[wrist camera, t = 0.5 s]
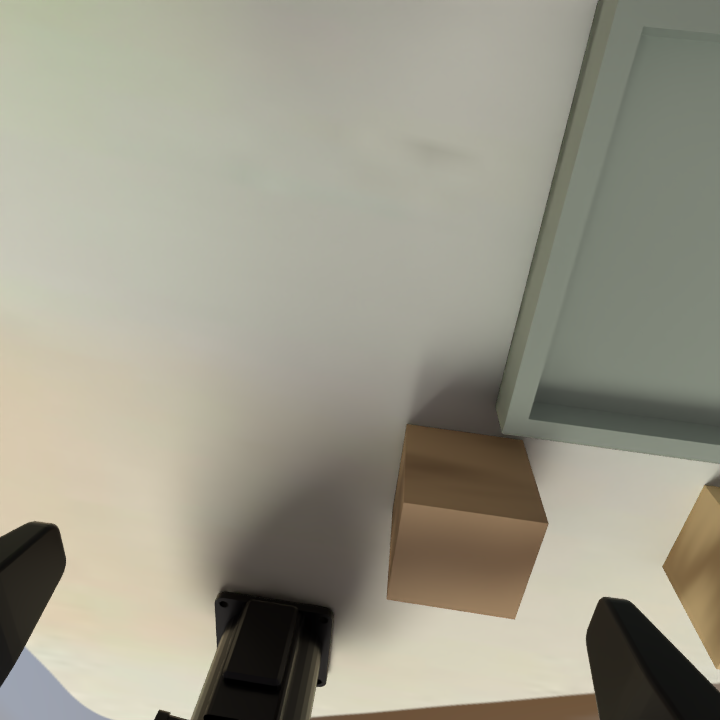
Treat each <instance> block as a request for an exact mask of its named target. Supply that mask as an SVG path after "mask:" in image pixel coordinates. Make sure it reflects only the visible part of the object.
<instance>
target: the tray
mask: <svg viewBox="0 0 720 720" xmlns="http://www.w3.org/2000/svg"><path fill="white" fill-rule="evenodd" d="M495 407H496V411H497V415H498V419H499V423H500V427H501V431H502V434H507V435H514V436H521V437H528V438H536V439H543V440H550V441H557V442H565V443H572V444H579V445H586V446H594V447H601V448H608V449H615V450H622V451H630V452H637V453H644V454H651V455H659V456H666V457H673V458H680V459H687V460H695V461H702V462H709V463H716V464H720V0H599V1H598V3H597V7H596V11H595V15H594V19H593V23H592V27H591V31H590V35H589V39H588V43H587V47H586V51H585V55H584V59H583V62H582V66H581V70H580V74H579V78H578V82H577V86H576V90H575V94H574V98H573V102H572V106H571V110H570V114H569V118H568V122H567V126H566V130H565V133H564V137H563V141H562V145H561V149H560V153H559V157H558V161H557V165H556V169H555V173H554V177H553V181H552V185H551V189H550V193H549V197H548V200H547V204H546V208H545V212H544V216H543V220H542V224H541V228H540V232H539V236H538V240H537V244H536V248H535V252H534V256H533V260H532V264H531V268H530V271H529V275H528V279H527V283H526V287H525V291H524V295H523V299H522V303H521V307H520V311H519V315H518V319H517V323H516V327H515V331H514V335H513V339H512V342H511V346H510V350H509V354H508V358H507V362H506V366H505V370H504V374H503V378H502V382H501V386H500V390H499V394H498V398H497V402H496V406H495Z"/></svg>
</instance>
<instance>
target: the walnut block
mask: <svg viewBox="0 0 720 720" xmlns="http://www.w3.org/2000/svg"><path fill="white" fill-rule="evenodd" d="M547 526H548V521H547V517H546V514H545V511H544V508H543V504H542V501H541V498H540V495H539V491H538V488H537V485H536V482H535V478H534V475H533V472H532V469H531V465H530V462H529V459H528V456H527V452H526V449H525V446H524V443H523V440H518V439H511V438H504V437H497V436H489V435H482V434H475V433H468V432H461V431H453V430H446V429H439V428H432V427H425V426H417V425H410V424H407V426H406V432H405V438H404V444H403V450H402V456H401V462H400V468H399V475H398V481H397V487H396V493H395V499H394V505H393V512H392V527H391V542H390V556H389V571H388V586H387V599H388V600H394V601H400V602H407V603H413V604H420V605H426V606H432V607H439V608H445V609H452V610H458V611H464V612H471V613H477V614H484V615H490V616H496V617H503V618H509V619H515V617H516V614H517V611H518V609H519V606H520V603H521V600H522V597H523V594H524V592H525V589H526V586H527V583H528V580H529V577H530V575H531V572H532V569H533V566H534V563H535V560H536V558H537V555H538V552H539V549H540V546H541V543H542V541H543V538H544V535H545V532H546V529H547Z"/></svg>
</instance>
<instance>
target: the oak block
mask: <svg viewBox="0 0 720 720" xmlns="http://www.w3.org/2000/svg"><path fill="white" fill-rule="evenodd" d="M662 567H663V569H664V571H665V573H666V575H667V577H668V579H669V581H670V582H671V584H672V586H673V588H674V590H675V592H676V594H677V596H678V598H679V599H680V601H681V603H682V605H683V607H684V609H685V611H686V613H687V615H688V616H689V618H690V620H691V622H692V624H693V626H694V628H695V630H696V632H697V633H698V635H699V637H700V639H701V641H702V643H703V645H704V647H705V649H706V650H707V652H708V654H709V656H710V658H711V660H712V662H713V664H714V666H715V668H716V669H720V487H715V486H708V485H704V487H703V489H702V491H701V493H700V495H699V497H698V499H697V501H696V503H695V504H694V506H693V508H692V510H691V512H690V514H689V516H688V518H687V520H686V522H685V524H684V526H683V528H682V530H681V532H680V534H679V535H678V537H677V539H676V541H675V543H674V545H673V547H672V549H671V551H670V553H669V555H668V557H667V559H666V561H665V563H664V565H663V566H662Z"/></svg>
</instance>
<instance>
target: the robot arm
mask: <svg viewBox="0 0 720 720" xmlns="http://www.w3.org/2000/svg"><path fill="white" fill-rule="evenodd" d="M65 566H66V556H65V552H64V547H63V543H62V539H61V534H60V530H59V528H58V527H57V526H56V525H55V524H52V523H44V522H36V521H34V522H29V523H26V524H24V525H22V526H20V527H19V528H17V529H15V530H13V531H11V532H9V533H7V534H5V535H3V536H1V537H0V687H1V685H2V684H3V682H4V680H5V679H6V678H7V676H8V674H9V673H10V671H11V670H12V668H13V666H14V665H15V663H16V661H17V659H18V657H19V656H20V654H21V652H22V651H23V649H24V647H25V645H26V643H27V641H28V639H29V637H30V636H31V634H32V632H33V630H34V628H35V626H36V624H37V622H38V620H39V618H40V617H41V615H42V613H43V611H44V609H45V607H46V605H47V603H48V601H49V600H50V598H51V596H52V594H53V592H54V590H55V588H56V586H57V584H58V583H59V581H60V579H61V577H62V575H63V573H64V570H65ZM215 617H216V636H217V651H216V653H215V656H214V659H213V661H212V664H211V667H210V669H209V672H208V675H207V677H206V680H205V683H204V685H203V688H202V691H201V693H200V696H199V699H198V701H197V704H196V707H195V709H194V712H193V715H192V717H191V720H310V718H311V712H312V707H313V701H314V696H315V690H316V687H322V686H324V685H325V684H326V681H327V673H328V664H329V655H330V646H331V636H332V627H333V618H334V614H333V612H332V610H330V609H328V608H325V607H319V606H312V605H306V604H300V603H293V602H287V601H281V600H274V599H268V598H262V597H255V596H249V595H243V594H237V593H230V592H220V593H219V594H218V595H217V598H216V600H215ZM586 646H587V652H588V657H589V663H590V669H591V674H592V680H593V685H594V691H595V696H596V702H597V707H598V713H599V718H600V720H720V692H719V691H718V690H717V689H716V688H715V687H714V686H713V685H712V684H711V683H710V682H709V681H708V680H707V679H706V678H705V677H704V676H703V675H702V674H701V673H700V672H699V671H698V670H697V669H696V668H695V666H694V665H693V664H692V663H691V662H690V661H689V660H688V659H687V658H686V657H685V656H684V655H683V654H682V653H681V652H680V651H679V650H678V649H677V648H676V647H675V646H674V645H673V644H672V643H671V642H670V641H669V640H668V639H667V638H666V637H665V636H664V635H663V634H662V633H661V632H660V631H659V630H658V629H657V628H656V627H655V626H654V625H653V624H652V623H651V622H650V621H649V620H648V619H647V617H646V616H645V615H644V614H643V613H642V612H641V611H640V610H639V609H638V608H637V607H636V606H635V605H634V604H633V603H631V602H630V601H628V600H625V599H618V598H611V597H603V598H601V599H600V600H599V602H598V604H597V606H596V609H595V611H594V614H593V616H592V619H591V621H590V624H589V627H588V629H587V634H586ZM154 720H187V719H183V718H180V717H176V716H172V715H170V712H167V711H163V710H159V711H158V713H157V715H156V717H155V719H154Z"/></svg>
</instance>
